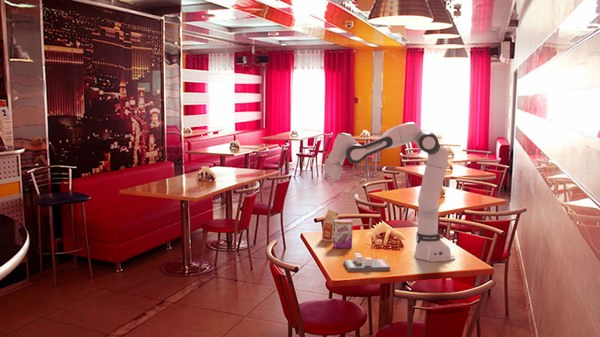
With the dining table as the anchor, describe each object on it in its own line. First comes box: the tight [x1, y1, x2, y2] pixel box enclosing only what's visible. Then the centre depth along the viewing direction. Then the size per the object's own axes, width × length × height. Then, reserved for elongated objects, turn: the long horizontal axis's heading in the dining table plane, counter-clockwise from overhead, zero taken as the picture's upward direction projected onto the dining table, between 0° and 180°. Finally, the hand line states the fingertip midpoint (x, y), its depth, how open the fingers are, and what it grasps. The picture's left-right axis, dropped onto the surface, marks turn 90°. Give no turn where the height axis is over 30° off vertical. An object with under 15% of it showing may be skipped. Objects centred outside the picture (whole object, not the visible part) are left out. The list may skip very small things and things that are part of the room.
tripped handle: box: [365, 257, 373, 266], centre depth 278 cm, size 3×2×4 cm
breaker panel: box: [343, 258, 391, 273], centre depth 283 cm, size 22×14×2 cm, turn 95°
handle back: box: [353, 252, 362, 261], centre depth 287 cm, size 3×2×4 cm
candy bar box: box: [333, 219, 354, 249], centre depth 320 cm, size 11×5×16 cm, turn 84°
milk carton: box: [321, 208, 339, 242], centre depth 338 cm, size 9×9×20 cm
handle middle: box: [356, 255, 363, 264], centre depth 282 cm, size 3×2×4 cm
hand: (327, 182), depth 302 cm, fingers open, 8 cm apart
